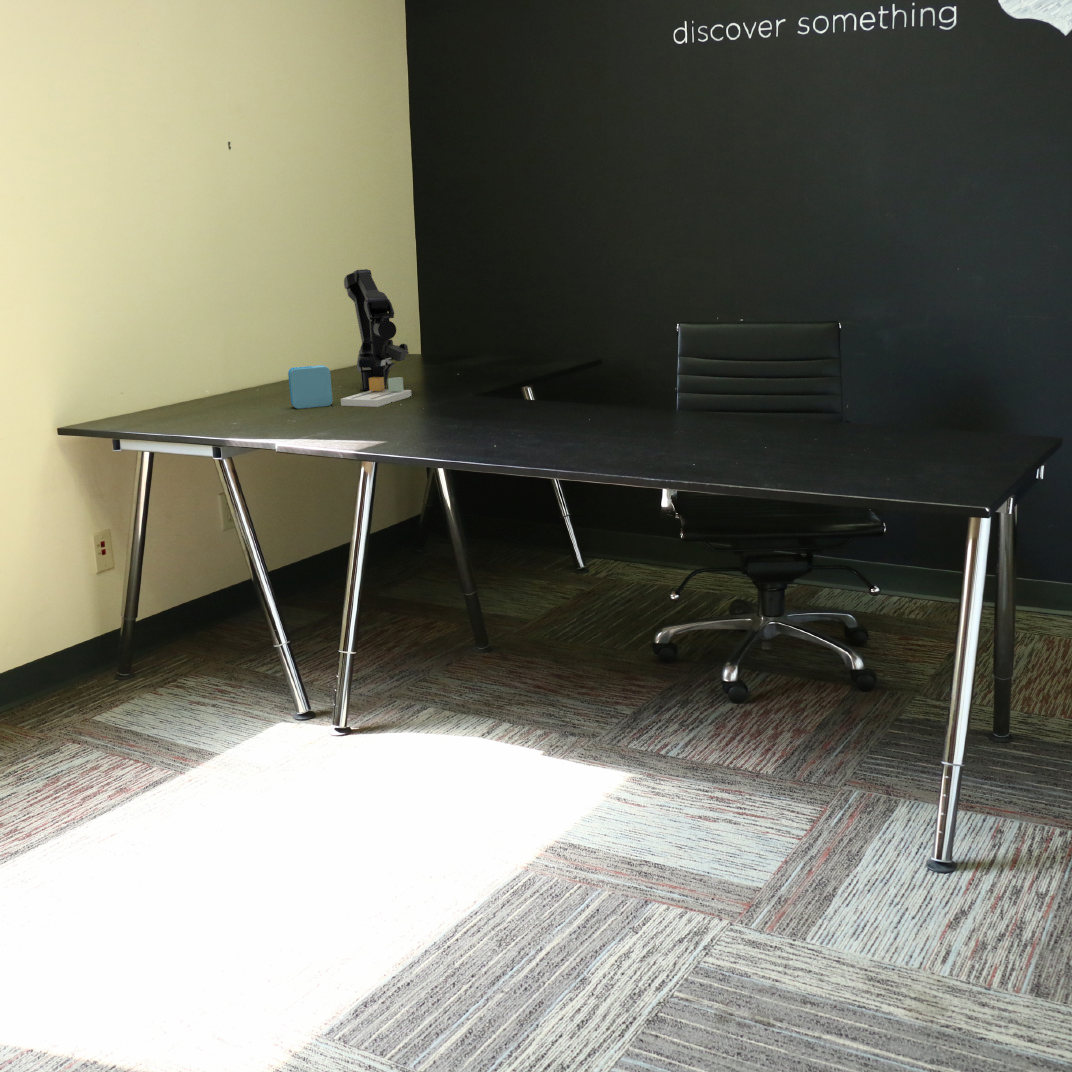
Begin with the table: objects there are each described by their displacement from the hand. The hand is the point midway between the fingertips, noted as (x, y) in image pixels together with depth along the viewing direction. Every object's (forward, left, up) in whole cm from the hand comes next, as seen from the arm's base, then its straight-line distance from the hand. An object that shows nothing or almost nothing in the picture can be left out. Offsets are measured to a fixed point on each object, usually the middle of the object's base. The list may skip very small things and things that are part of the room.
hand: (383, 386), depth 372 cm
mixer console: (+3, -10, -3) cm, 11 cm away
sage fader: (+7, -4, -1) cm, 8 cm away
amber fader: (0, -4, -1) cm, 4 cm away
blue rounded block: (-12, -23, -3) cm, 26 cm away
